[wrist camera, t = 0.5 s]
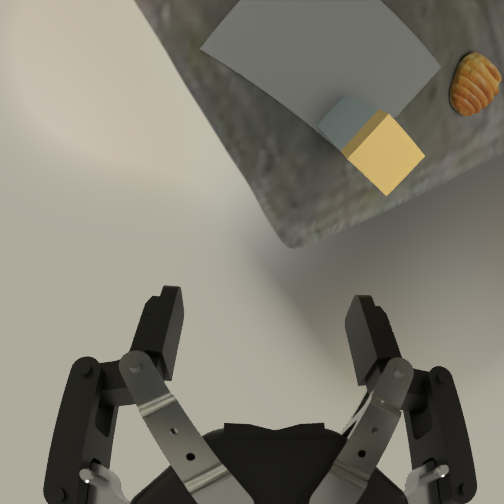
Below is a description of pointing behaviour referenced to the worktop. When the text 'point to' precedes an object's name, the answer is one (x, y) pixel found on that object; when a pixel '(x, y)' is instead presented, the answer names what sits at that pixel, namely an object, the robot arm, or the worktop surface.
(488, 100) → the pastry
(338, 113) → the block
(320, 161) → the worktop surface
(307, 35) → the mat
